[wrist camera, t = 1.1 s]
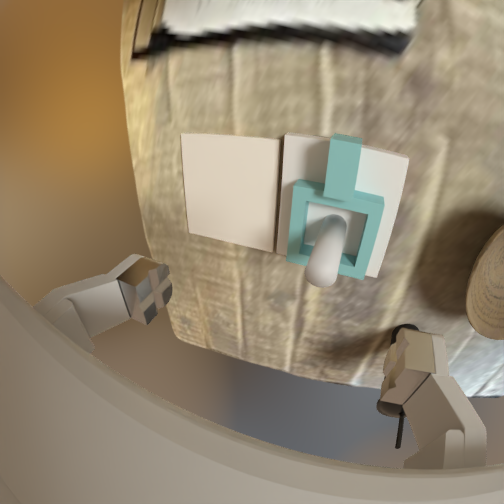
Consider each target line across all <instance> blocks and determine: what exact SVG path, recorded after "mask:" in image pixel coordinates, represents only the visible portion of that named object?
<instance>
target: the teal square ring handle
mask: <svg viewBox="0 0 504 504" xmlns="http://www.w3.org/2000/svg"><path fill="white" fill-rule="evenodd" d="M361 147H362V138H357V137H352V136H347V135H341V134H336V133H335V134H334V135H333V136H332V137H331V139H330V148H329V157H328V165H327V173H326V181H325V184H324V183H319V182H313V181H308V180H303V179H298V181H297V182H296V183H295V184H294V186H293V198H292V208H291V218H290V228H289V238H288V247H287V256H286V261H288V262H292V263H296V264H300V265H304V266H306V265H307V263H308V260H309V258H310V255H311V252H312V250H313V247H314V246H312V245H307V244H304V237H305V229H306V222H307V214H308V206H309V202H314V203H319V204H324V205H328V206H333V207H338V208H342V209H347V210H351V211H355V212H360V213H364V214H367V215H366V219H365V223H364V228H363V232H362V236H361V240H360V244H359V247H358V251H357V255H356V256H354V255H350V254H345V253H342V254H341V259H340V264H339V269H338V273H337V274H341V275H345V276H349V277H354V278H358V279H362V280H364V276H365V273H366V270H367V267H368V264H369V261H370V257H371V254H372V251H373V247H374V244H375V240H376V237H377V233H378V230H379V226H380V222H381V218H382V214H383V210H384V206H385V203H384V197H382V196H378V195H374V194H370V193H366V192H361V191H357V190H355V185H356V180H357V174H358V167H359V161H360V154H361Z"/></svg>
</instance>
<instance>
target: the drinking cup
mask: <svg viewBox="0 0 504 504" xmlns="http://www.w3.org/2000/svg"><path fill="white" fill-rule="evenodd" d="M401 328H407V329H412V330H417V331H419V329H418V328H417V327H416V326H414V325H411V324H404V325H400V326H398V327H397V328H396V329H395V330H394V331H393V333H392V339H391V345H392V344H394V343H396V336H397V334H398V332H399V330H400V329H401ZM391 345H390V346H391ZM385 378H386V376H385ZM385 378H384V380H385ZM377 410H378V411H379V412H380V413H381V414H383V415H386V416H390V417H395V418H399V426H398V433H397V440H396V446H395V448H396V449H398V448H400V446H401V440H402V432H403V424H404V417H407V416H406V414H405V411H404V409H403V405H401V404H395V403H390V402H385V401H380V399H379V400H378V402H377Z"/></svg>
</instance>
